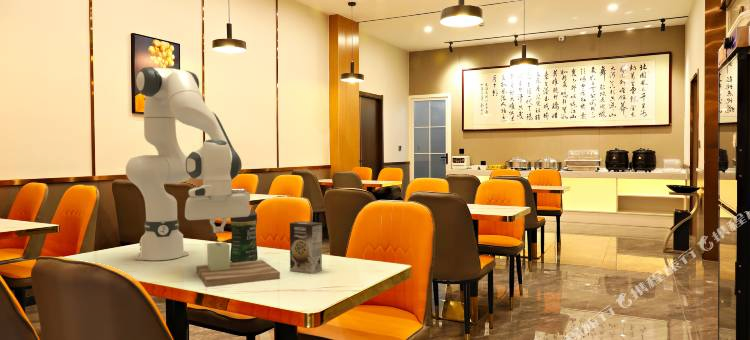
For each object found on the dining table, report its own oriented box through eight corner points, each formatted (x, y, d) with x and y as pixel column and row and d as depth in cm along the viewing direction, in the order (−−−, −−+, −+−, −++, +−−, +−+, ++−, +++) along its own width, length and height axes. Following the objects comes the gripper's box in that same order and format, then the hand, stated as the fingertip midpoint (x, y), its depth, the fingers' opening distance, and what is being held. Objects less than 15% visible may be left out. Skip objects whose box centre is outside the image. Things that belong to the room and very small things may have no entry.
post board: (196, 272, 173) (196, 248, 173) (262, 265, 183) (261, 242, 183) (206, 286, 153) (206, 259, 153) (279, 278, 163) (279, 252, 163)
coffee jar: (242, 265, 184) (242, 212, 183) (226, 263, 188) (225, 211, 187) (261, 260, 192) (261, 210, 192) (246, 258, 196) (245, 209, 196)
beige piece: (207, 267, 171) (207, 243, 170) (226, 265, 173) (225, 241, 173) (210, 271, 165) (210, 245, 165) (229, 269, 168) (229, 244, 168)
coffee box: (289, 271, 173) (288, 222, 173) (300, 267, 179) (300, 220, 179) (311, 273, 169) (311, 224, 169) (322, 270, 175) (322, 222, 174)
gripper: (247, 188, 176) (248, 229, 176) (183, 190, 167) (184, 233, 167) (252, 188, 170) (252, 231, 171) (185, 191, 161) (186, 236, 162)
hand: (218, 232), depth 169 cm, fingers closed
